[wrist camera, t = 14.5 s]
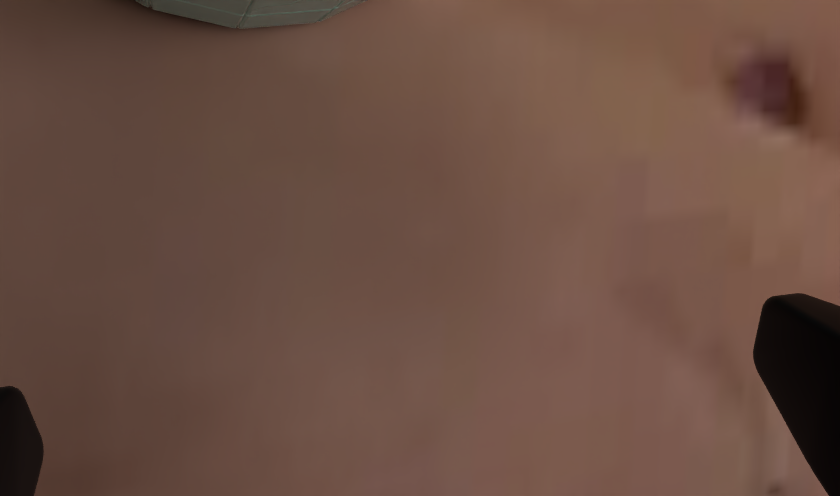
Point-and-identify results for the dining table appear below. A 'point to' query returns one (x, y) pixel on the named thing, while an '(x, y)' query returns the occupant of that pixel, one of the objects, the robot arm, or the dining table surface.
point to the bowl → (253, 11)
